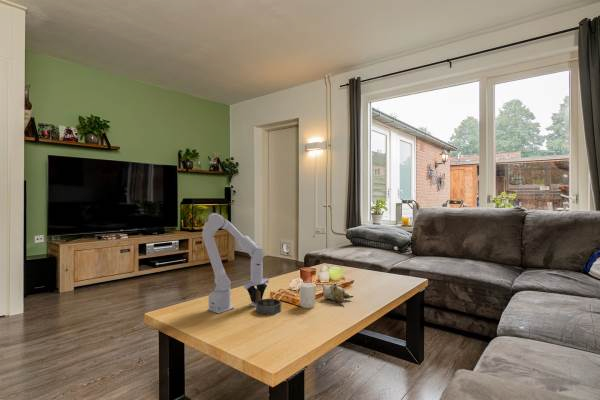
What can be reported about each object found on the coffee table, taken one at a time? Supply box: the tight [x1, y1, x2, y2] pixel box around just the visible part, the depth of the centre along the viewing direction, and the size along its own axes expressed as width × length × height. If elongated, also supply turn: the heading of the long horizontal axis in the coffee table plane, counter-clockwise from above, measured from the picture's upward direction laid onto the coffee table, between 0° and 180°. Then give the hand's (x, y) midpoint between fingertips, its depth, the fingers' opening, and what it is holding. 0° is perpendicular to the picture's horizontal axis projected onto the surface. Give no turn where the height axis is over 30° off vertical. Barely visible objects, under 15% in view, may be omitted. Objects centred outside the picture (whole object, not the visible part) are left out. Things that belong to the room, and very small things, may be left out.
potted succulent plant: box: [322, 283, 354, 304], centre depth 165 cm, size 11×9×15 cm
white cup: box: [298, 282, 317, 309], centre depth 157 cm, size 8×8×10 cm
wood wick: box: [249, 290, 261, 308], centre depth 158 cm, size 5×5×7 cm
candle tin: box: [255, 298, 282, 316], centre depth 151 cm, size 11×11×4 cm
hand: (256, 300), depth 158 cm, fingers open, 4 cm apart
